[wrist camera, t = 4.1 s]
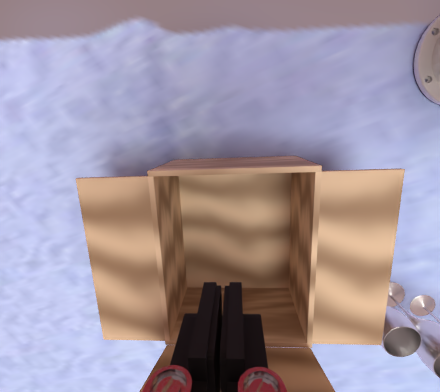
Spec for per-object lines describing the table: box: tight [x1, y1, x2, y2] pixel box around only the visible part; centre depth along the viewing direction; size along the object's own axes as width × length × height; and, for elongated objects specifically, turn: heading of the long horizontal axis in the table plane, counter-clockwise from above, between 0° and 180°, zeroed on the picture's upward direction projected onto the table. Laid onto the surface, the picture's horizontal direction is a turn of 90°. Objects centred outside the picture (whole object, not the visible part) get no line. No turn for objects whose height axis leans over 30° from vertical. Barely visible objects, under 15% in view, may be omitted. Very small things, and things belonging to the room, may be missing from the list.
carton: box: [76, 156, 405, 348], centre depth 35 cm, size 22×34×12 cm, turn 92°
